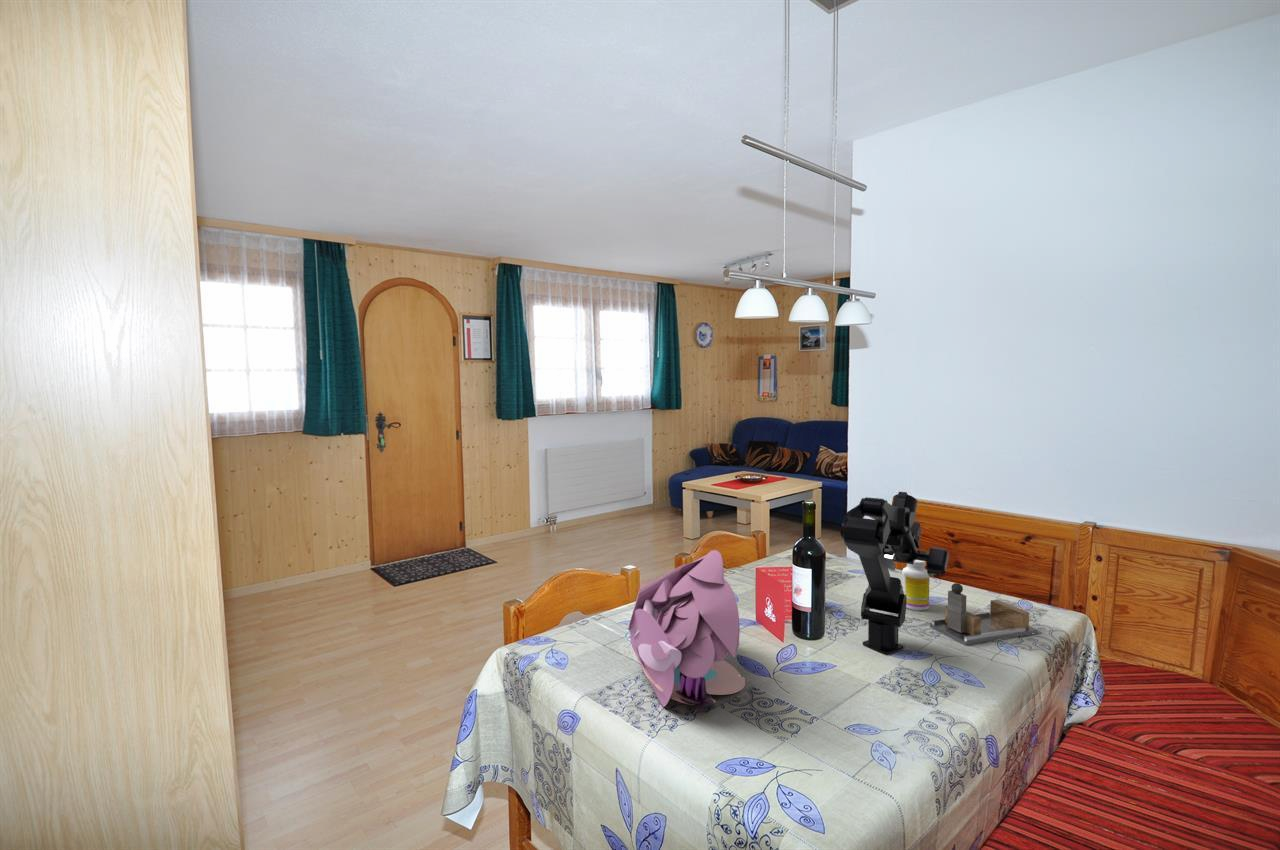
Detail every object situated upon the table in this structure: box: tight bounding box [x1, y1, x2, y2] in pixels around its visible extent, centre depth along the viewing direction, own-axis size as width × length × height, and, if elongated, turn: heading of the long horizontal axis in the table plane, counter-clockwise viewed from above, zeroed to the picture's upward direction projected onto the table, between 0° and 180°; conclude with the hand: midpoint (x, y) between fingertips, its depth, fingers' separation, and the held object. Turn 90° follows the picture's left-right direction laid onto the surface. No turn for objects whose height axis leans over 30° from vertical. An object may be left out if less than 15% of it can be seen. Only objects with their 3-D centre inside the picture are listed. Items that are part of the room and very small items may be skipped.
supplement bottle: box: [901, 560, 930, 612], centre depth 157 cm, size 7×7×13 cm
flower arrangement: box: [627, 549, 746, 708], centre depth 120 cm, size 35×24×28 cm
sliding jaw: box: [944, 582, 981, 635], centre depth 140 cm, size 4×9×11 cm, turn 16°
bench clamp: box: [929, 599, 1038, 646], centre depth 142 cm, size 21×11×5 cm, turn 106°
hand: (912, 572), depth 155 cm, fingers open, 9 cm apart
